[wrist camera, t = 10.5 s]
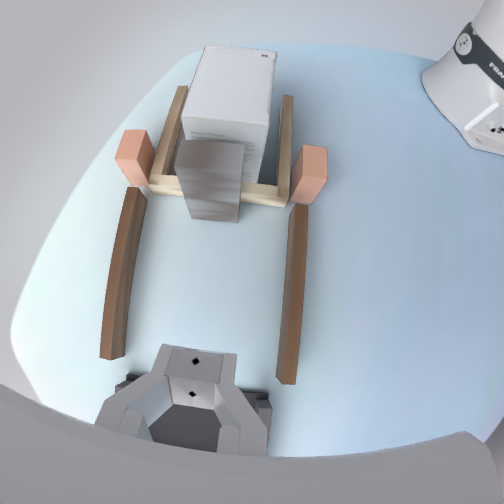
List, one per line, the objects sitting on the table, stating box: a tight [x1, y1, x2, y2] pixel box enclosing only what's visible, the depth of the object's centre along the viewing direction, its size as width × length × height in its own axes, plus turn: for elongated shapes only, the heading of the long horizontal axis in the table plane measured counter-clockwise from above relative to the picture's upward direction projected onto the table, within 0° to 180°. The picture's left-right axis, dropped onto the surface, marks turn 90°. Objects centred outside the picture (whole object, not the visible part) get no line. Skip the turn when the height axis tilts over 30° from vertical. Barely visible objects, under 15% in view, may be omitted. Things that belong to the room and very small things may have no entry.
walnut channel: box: [99, 187, 308, 385], centre depth 22 cm, size 15×14×3 cm
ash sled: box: [148, 86, 293, 223], centre depth 22 cm, size 12×14×9 cm
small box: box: [181, 46, 277, 183], centre depth 22 cm, size 8×6×10 cm
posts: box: [115, 130, 328, 204], centre depth 24 cm, size 17×3×5 cm, turn 84°
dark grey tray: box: [115, 374, 272, 453], centre depth 19 cm, size 12×9×3 cm
